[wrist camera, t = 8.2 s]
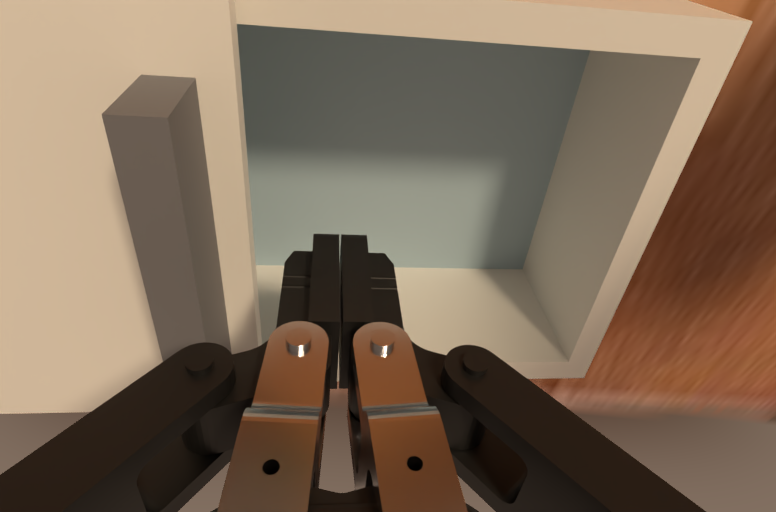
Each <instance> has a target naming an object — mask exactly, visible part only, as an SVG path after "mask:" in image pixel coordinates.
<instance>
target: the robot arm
mask: <svg viewBox="0 0 776 512" xmlns="http://www.w3.org/2000/svg"><path fill="white" fill-rule="evenodd" d="M338 354H339V388H348V410H347V419H348V428H349V437H350V446H351V455H352V464H353V473H354V482H355V490H354V491H351V492H348V493H335V492H331V491H327V490H322V489H319V488H318V487H319V477H320V469H321V459H322V450H323V440H324V431H325V421H326V412H327V410H328V407H329V396H330V389H337V372H338ZM228 462H230V465H229V469H228V473H227V477H226V480H225V484H224V488H223V491H222V495H221V499H220V503H219V507H218V508H217V509H215V510H213V511H211V512H478V511H477V510H476V509H474V508H473V507H471V506H469V505H468V504H466V503H465V500H464V497H463V493H462V490H461V486H460V483H459V479H458V476H459V477H460V478H461V479H462V480H463V481H464V482H465V483H467V484H468V485H469V486H470V487H471V488H472V489H473V490H474V491H475V492H476V493H477V494H478V495H479V496H480V497H481V498H482V499H483V500H484V501H485V502H486V503H487V504H488V505H489V506H490V507H492V508H493V509H494V510H495V511H496V512H706V511H704V510H703V509H702V508H700V507H699V506H698V505H696V504H695V503H693V502H692V501H691V500H690V499H688V498H687V497H685V496H684V495H683V494H681V493H680V492H679V491H677V490H676V489H675V488H673V487H672V486H671V485H669V484H668V483H667V482H665V481H664V480H663V479H661V478H660V477H659V476H657V475H656V474H655V473H653V472H652V471H651V470H649V469H648V468H647V467H645V466H644V465H642V464H641V463H640V462H639V461H637V460H636V459H634V458H633V457H632V456H630V455H629V454H628V453H626V452H625V451H624V450H622V449H621V448H620V447H618V446H617V445H616V444H614V443H613V442H612V441H610V440H609V439H608V438H606V437H605V436H603V435H602V434H601V433H600V432H598V431H597V430H596V429H594V428H593V427H591V426H590V425H589V424H587V423H586V422H585V421H583V420H582V419H581V418H579V417H578V416H577V415H575V414H574V413H573V412H571V411H570V410H569V409H567V408H566V407H565V406H563V405H562V404H561V403H559V402H558V401H557V400H555V399H554V398H553V397H551V396H550V395H549V394H547V393H546V392H544V391H543V390H542V389H540V388H539V387H538V386H536V385H535V384H534V383H532V382H531V381H530V380H528V379H527V378H526V377H524V376H523V375H522V374H520V373H519V372H518V371H516V370H515V369H514V368H512V367H511V366H510V365H508V364H507V363H506V362H504V361H503V360H501V359H500V358H499V357H497V356H496V355H495V354H493V353H492V352H490V351H489V350H487V349H485V348H482V347H480V346H475V345H461V346H457V347H455V348H453V349H452V350H450V351H449V352H448V354H447V355H443V354H440V353H436V352H432V351H429V350H426V349H423V348H421V347H419V346H418V345H416V344H415V343H414V342H412V341H411V340H410V337H409V336H408V334H407V333H406V332H405V331H404V327H403V321H402V315H401V308H400V302H399V295H398V290H397V282H396V276H395V269H394V264H393V263H392V262H391V260H390V259H389V258H388V257H387V255H386V254H385V253H368V242H367V235H347V234H341V245H340V259H339V234H313V250H312V251H293V252H292V254H291V255H290V256H289V257H288V259H287V260H286V261H285V264H284V272H283V279H282V288H281V295H280V302H279V310H278V317H277V325H276V329H275V330H274V331H273V332H272V334H271V335H270V337H269V340H268V341H266V342H265V343H264V344H262V345H260V346H259V347H256V348H254V349H251V350H248V351H244V352H240V353H236V354H231V352H230V351H229V350H228V349H227V348H225V347H224V346H222V345H219V344H216V343H210V342H203V343H196V344H192V345H189V346H187V347H185V348H183V349H181V350H179V351H178V352H176V353H175V354H173V355H172V356H171V357H169V358H168V359H166V360H165V361H163V362H162V363H160V364H159V365H158V366H156V367H155V368H153V369H152V370H150V371H149V372H148V373H146V374H145V375H143V376H142V377H140V378H139V379H137V380H136V381H135V382H133V383H132V384H130V385H129V386H127V387H126V388H125V389H123V390H122V391H120V392H119V393H117V394H116V395H115V396H113V397H112V398H110V399H109V400H107V401H106V402H104V403H103V404H102V405H100V406H99V407H97V408H96V409H94V410H93V411H92V412H90V413H89V414H87V415H86V416H84V417H83V418H81V419H80V420H79V421H77V422H76V423H74V424H73V425H71V426H70V427H69V428H67V429H66V430H64V431H63V432H61V433H60V434H58V435H57V436H56V437H54V438H53V439H51V440H50V441H49V442H47V443H46V444H44V445H43V446H41V447H40V448H38V449H37V450H35V451H34V452H33V453H31V454H30V455H28V456H27V457H25V458H24V459H23V460H21V461H20V462H18V463H17V464H15V465H14V466H13V467H11V468H10V469H8V470H7V471H5V472H4V473H2V474H1V475H0V512H178V511H179V510H180V508H182V507H183V506H184V505H185V504H186V503H187V502H188V501H189V500H190V499H191V498H192V497H193V496H194V495H195V494H196V493H197V492H198V491H199V490H200V489H201V488H203V486H205V485H206V484H207V483H208V482H209V481H210V480H211V479H212V478H213V477H214V476H215V475H216V474H217V473H218V472H219V471H220V470H221V469H222V468H223V467H224V466H225V465H226V464H227V463H228ZM457 475H458V476H457Z"/></svg>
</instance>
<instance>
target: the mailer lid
mask: <svg viewBox="0 0 776 512" xmlns="http://www.w3.org/2000/svg"><path fill="white" fill-rule="evenodd" d="M203 342H210V343H216V344H219V345H222V346H224V347H225V348H227V349H228V350H229V351H230V352H231V354H236V353H240V352H244V351H248V350H251V349H254V348H256V347H259V346H260V345H262V337H261V324H260V312H259V299H258V286H257V274H256V261H255V248H254V236H253V223H252V211H251V198H250V185H249V173H248V160H247V147H246V135H245V122H244V109H243V97H242V84H241V71H240V59H239V46H238V34H237V21H236V8H235V0H0V414H6V413H7V414H8V413H10V414H11V413H59V412H60V413H63V412H92V411H93V410H94V409H96V408H97V407H99V406H100V405H102V404H103V403H104V402H106V401H107V400H109V399H110V398H112V397H113V396H115V395H116V394H117V393H119V392H120V391H122V390H123V389H125V388H126V387H127V386H129V385H130V384H132V383H133V382H135V381H136V380H137V379H139V378H140V377H142V376H143V375H145V374H146V373H148V372H149V371H150V370H152V369H153V368H155V367H156V366H158V365H159V364H160V363H162V362H163V361H165V360H166V359H168V358H169V357H171V356H172V355H173V354H175V353H176V352H178V351H179V350H181V349H183V348H185V347H187V346H189V345H192V344H196V343H203Z"/></svg>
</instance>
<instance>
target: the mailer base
mask: <svg viewBox="0 0 776 512" xmlns="http://www.w3.org/2000/svg"><path fill="white" fill-rule="evenodd" d="M235 8H236V21H237V34H238V46H239V59H240V71H241V84H242V97H243V109H244V122H245V135H246V147H247V160H248V173H249V185H250V198H251V211H252V223H253V236H254V248H255V261H256V274H257V286H258V299H259V312H260V324H261V337H262V344H264V343H265V342H266V341H268V340H269V337H270V335H271V334H272V332H273V331H274V330H275V329H276V325H277V317H278V310H279V302H280V295H281V288H282V279H283V272H284V264H285V261H286V260H287V259H288V257H289V256H290V255H291V254H292V252H293V251H312V250H313V234H339V259H340V245H341V234H347V235H367V242H368V253H385V254H386V255H387V257H388V258H389V259H390V260H391V262H392V263H393V264H394V269H395V276H396V282H397V290H398V295H399V302H400V308H401V315H402V321H403V327H404V331H405V332H406V333H407V334H408V336H409V337H410V340H411V341H412V342H414V343H415V344H416V345H418V346H419V347H421V348H423V349H426V350H429V351H432V352H436V353H440V354H443V355H447V354H448V352H449V351H450V350H452V349H453V348H455V347H457V346H461V345H475V346H480V347H482V348H485V349H487V350H489V351H490V352H492V353H493V354H495V355H496V356H497V357H499V358H500V359H501V360H503V361H504V362H506V363H507V364H508V365H510V366H511V367H512V368H514V369H515V370H516V371H518V372H519V373H520V374H522V375H523V376H524V377H526V378H527V379H540V378H584V377H585V375H586V372H587V370H588V368H589V366H590V364H591V362H592V360H593V358H594V356H595V353H596V351H597V349H598V347H599V345H600V343H601V341H602V339H603V337H604V334H605V332H606V330H607V328H608V326H609V324H610V322H611V320H612V318H613V315H614V313H615V311H616V309H617V307H618V305H619V303H620V301H621V299H622V296H623V294H624V292H625V290H626V288H627V286H628V284H629V282H630V280H631V278H632V275H633V273H634V271H635V269H636V267H637V265H638V263H639V261H640V259H641V256H642V254H643V252H644V250H645V248H646V246H647V244H648V242H649V240H650V237H651V235H652V233H653V231H654V229H655V227H656V225H657V223H658V221H659V218H660V216H661V214H662V212H663V210H664V208H665V206H666V204H667V202H668V199H669V197H670V195H671V193H672V191H673V189H674V187H675V185H676V183H677V180H678V178H679V176H680V174H681V172H682V170H683V168H684V166H685V164H686V161H687V159H688V157H689V155H690V153H691V151H692V149H693V147H694V145H695V142H696V140H697V138H698V136H699V134H700V132H701V130H702V128H703V126H704V124H705V121H706V119H707V117H708V115H709V113H710V111H711V109H712V107H713V105H714V102H715V100H716V98H717V96H718V94H719V92H720V90H721V88H722V86H723V83H724V81H725V79H726V77H727V75H728V73H729V71H730V69H731V67H732V64H733V62H734V60H735V58H736V56H737V54H738V52H739V50H740V48H741V45H742V43H743V41H744V39H745V37H746V35H747V33H748V31H749V29H750V26H751V24H752V22H753V21H750V20H747V19H744V18H741V17H738V16H734V15H731V14H728V13H725V12H722V11H719V10H716V9H713V8H710V7H707V6H704V5H701V4H697V3H694V2H691V1H688V0H235ZM337 381H339V354H338V372H337Z"/></svg>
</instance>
